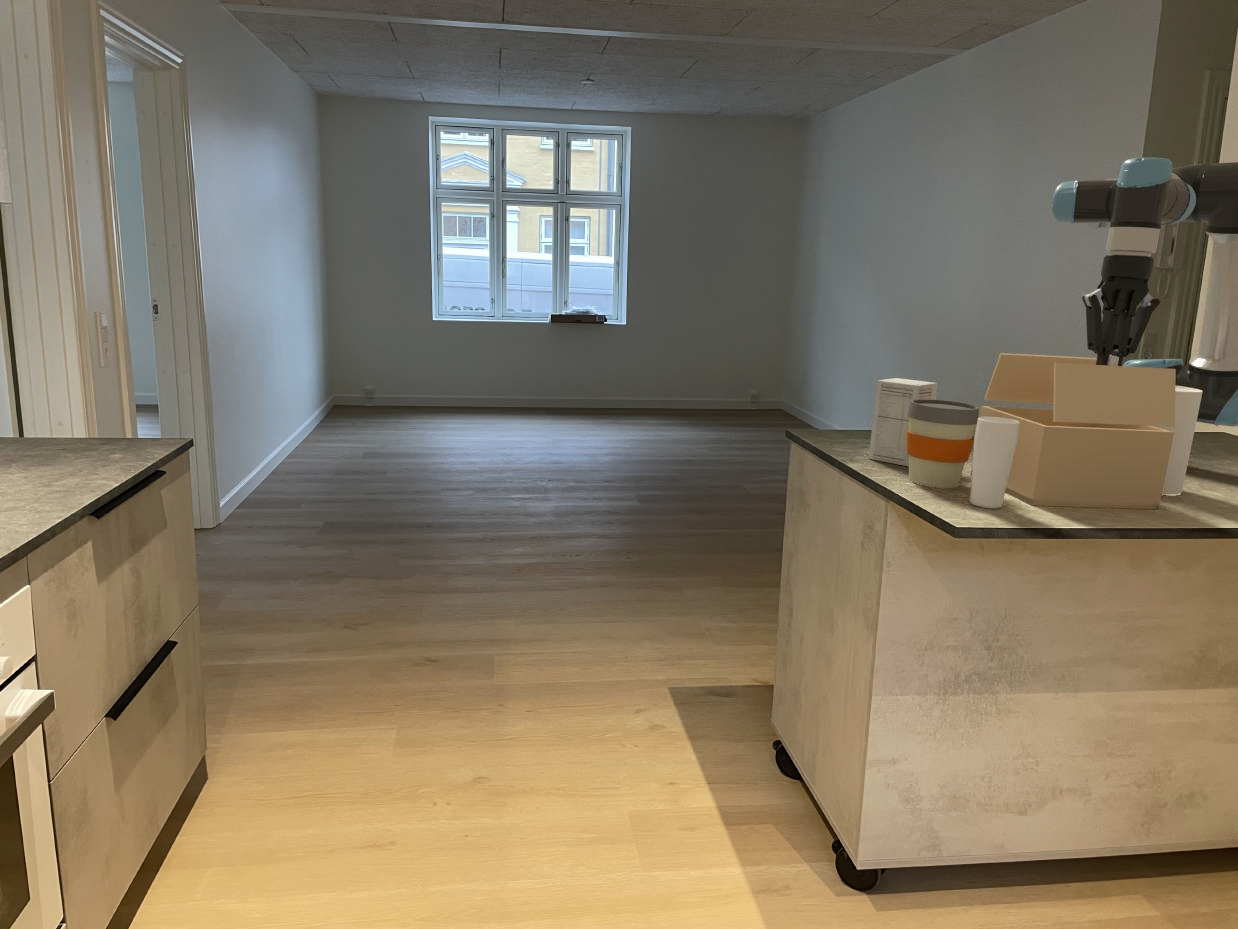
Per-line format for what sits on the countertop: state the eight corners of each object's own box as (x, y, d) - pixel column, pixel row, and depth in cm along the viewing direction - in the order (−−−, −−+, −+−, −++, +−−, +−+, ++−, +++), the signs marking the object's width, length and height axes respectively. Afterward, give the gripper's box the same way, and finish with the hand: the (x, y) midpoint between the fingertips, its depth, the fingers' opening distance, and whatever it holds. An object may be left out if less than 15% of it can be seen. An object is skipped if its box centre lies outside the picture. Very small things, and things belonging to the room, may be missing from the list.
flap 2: (1173, 369, 154) (1175, 368, 153) (1172, 426, 153) (1175, 426, 153) (1054, 363, 151) (1056, 362, 151) (1053, 421, 151) (1055, 421, 150)
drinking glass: (957, 499, 156) (970, 415, 152) (994, 500, 156) (1007, 417, 153) (976, 510, 149) (989, 422, 146) (1014, 511, 150) (1028, 424, 146)
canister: (1183, 500, 166) (1205, 394, 161) (1102, 487, 172) (1121, 385, 168) (1179, 486, 177) (1199, 387, 173) (1103, 475, 184) (1121, 379, 179)
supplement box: (929, 462, 187) (940, 382, 183) (909, 467, 180) (920, 385, 176) (887, 453, 193) (896, 376, 189) (866, 458, 186) (876, 379, 183)
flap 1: (1090, 405, 176) (1088, 403, 176) (1109, 359, 170) (1108, 358, 171) (985, 400, 173) (983, 399, 174) (1001, 354, 168) (1000, 352, 168)
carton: (1083, 479, 179) (1095, 411, 176) (1158, 509, 157) (1174, 432, 154) (970, 475, 176) (981, 405, 173) (1031, 505, 155) (1044, 426, 152)
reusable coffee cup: (884, 476, 170) (894, 399, 167) (930, 472, 176) (940, 398, 173) (936, 493, 160) (948, 411, 156) (983, 488, 166) (995, 408, 162)
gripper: (1150, 257, 154) (1124, 391, 159) (1080, 252, 152) (1055, 387, 158) (1181, 257, 146) (1152, 398, 152) (1107, 252, 145) (1081, 394, 150)
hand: (1103, 392), depth 155 cm, fingers closed
